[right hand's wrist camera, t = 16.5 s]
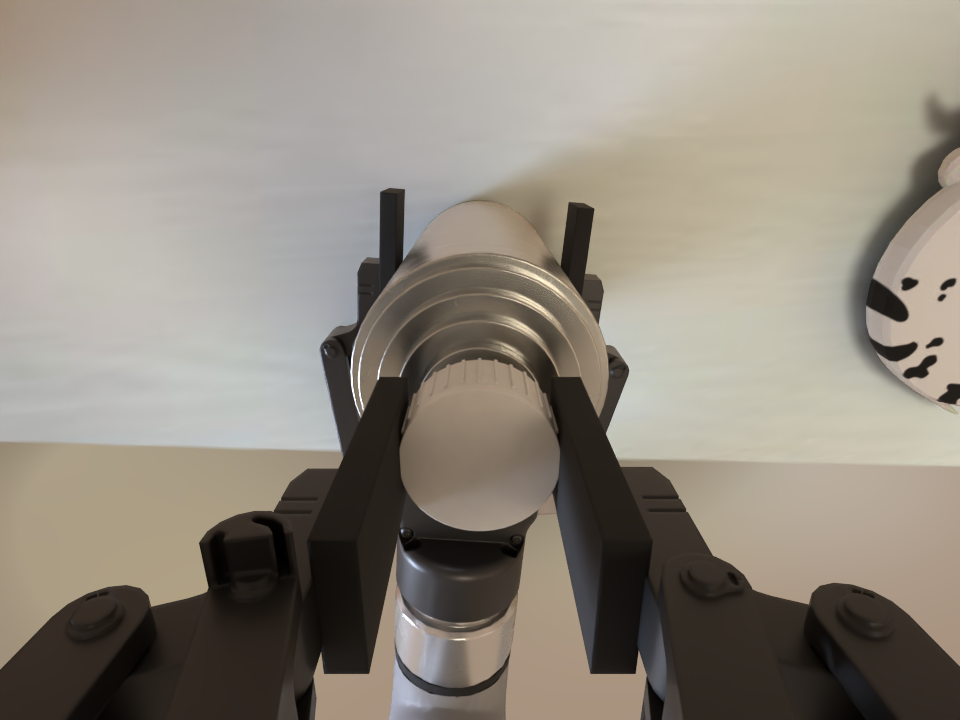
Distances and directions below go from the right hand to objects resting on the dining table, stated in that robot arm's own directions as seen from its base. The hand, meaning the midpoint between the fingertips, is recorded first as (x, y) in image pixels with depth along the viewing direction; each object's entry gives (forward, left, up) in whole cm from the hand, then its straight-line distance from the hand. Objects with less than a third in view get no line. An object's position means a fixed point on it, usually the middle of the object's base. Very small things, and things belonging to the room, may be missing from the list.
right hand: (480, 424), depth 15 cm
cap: (0, 0, +2) cm, 2 cm away
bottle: (0, 0, -21) cm, 21 cm away
